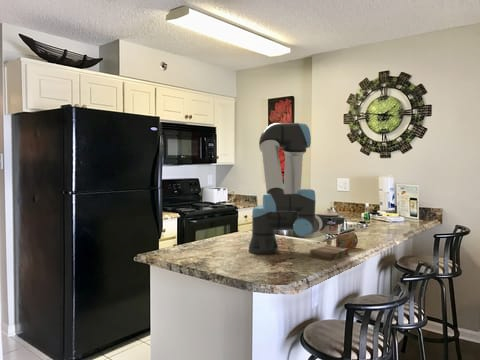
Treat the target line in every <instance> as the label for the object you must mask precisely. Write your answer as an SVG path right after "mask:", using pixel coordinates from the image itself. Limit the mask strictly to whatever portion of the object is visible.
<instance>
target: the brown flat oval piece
mask: <svg viewBox="0 0 480 360" xmlns="http://www.w3.org/2000/svg"><path fill="white" fill-rule="evenodd" d="M358 241H359V240H358V236H357V234H356V233H355V232H346V233H341V234H338V235H337V236H336V238H335V247H341V248H348V251H349V250H353V249H355V248H356V247H357V246H358Z"/></svg>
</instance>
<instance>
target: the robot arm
mask: <svg viewBox="0 0 480 360" xmlns="http://www.w3.org/2000/svg"><path fill="white" fill-rule="evenodd" d="M258 141H259V144H258V148H259V151H260V152H261V153H262V161H263V162H262V163H263V172H264V180H265V182H264V183H265V190H266V193H265V194H263V195H262V205H258V206H255V207H253V208H252V214H251V218H252V223H251V224H252V225H251V229H252V230H251V239H250V242H249V245H248V252H249V253H251V254H257V255H258V254H259V255H272V254H277V253H278V252H279V245H278V241H277V238H276V231H293V232H294V233H295V234H296V235H297V236H300V237H307V236H310V235H314V234H315V233H317V232H320V231H321V230H323V229H324V228H325V226H327V225H330V224H332V226H335V225H338V226H339V225H343V224H345V218H344V215H340V216H338V217H337V218H324V217H323V216H322V215H320V213H317V214H316V192H315V190H314V189H312V188H311V189H310V188H308V189H307V188H302V174H303V161H304V159H303V158H304V155H305V153H307V149H308V148H310V147H311V144H312V138H311V132H310V128H309V125H308V124H306V123H300V122H276V123H275V122H274V123H272V124H269V125H268V126H267V127H266V128H264V130H263V132H262V133H261V134H260V137H259V140H258ZM280 148H281V149H282V152H283V154H284V155H285V156H284V173H282V168H281V161H280V154H279V150H280ZM283 175H284V176H283Z"/></svg>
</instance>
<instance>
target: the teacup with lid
mask: <svg viewBox="0 0 480 360" xmlns="http://www.w3.org/2000/svg"><path fill="white" fill-rule="evenodd" d="M319 214H320V215H322V216H323V217H324V218H337V217H339V215H340V214H339V213H337V212H335V211H334V210H332V208H326V210H324V211H323V212H320V213H319ZM319 233H321V234H324V235H335V234H338V233H339V225H335V226H332V224H330V225H327V226H325V228H324V229H323V230H321V231H319Z"/></svg>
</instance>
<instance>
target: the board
mask: <svg viewBox="0 0 480 360" xmlns="http://www.w3.org/2000/svg"><path fill="white" fill-rule="evenodd" d="M348 255H349V250H348V248H341V247H336V245H335V246H334V245H329V244H325V245H321V246H319V247H316V248H312V249H310V250H309V258H310V257H311V258H315V259H321V260H327V261H331V260H332V261H333V260H334V261H336V260H338V258H339V259H341V258H343V256H344V257H345V256H348Z"/></svg>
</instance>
